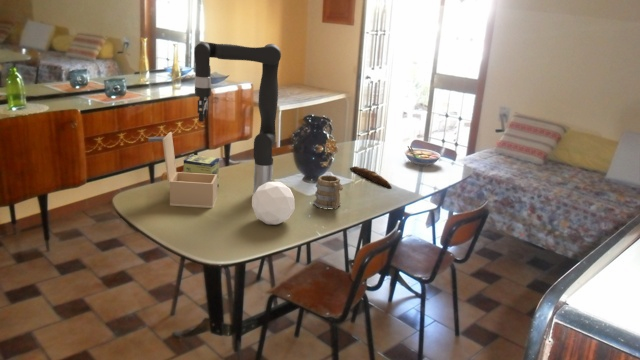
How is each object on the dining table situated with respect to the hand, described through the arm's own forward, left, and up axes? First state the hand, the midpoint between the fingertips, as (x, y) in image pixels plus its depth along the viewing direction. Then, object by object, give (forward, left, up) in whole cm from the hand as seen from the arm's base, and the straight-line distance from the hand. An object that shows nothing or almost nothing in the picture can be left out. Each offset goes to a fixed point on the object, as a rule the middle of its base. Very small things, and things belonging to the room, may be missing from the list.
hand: (202, 119), depth 269 cm
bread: (-89, -40, -39) cm, 105 cm away
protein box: (+2, -8, -38) cm, 39 cm away
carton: (+2, +11, -38) cm, 40 cm away
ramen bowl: (-126, -75, -38) cm, 152 cm away
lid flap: (+13, +11, -16) cm, 24 cm away
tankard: (-64, +9, -38) cm, 75 cm away
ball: (-37, +31, -38) cm, 62 cm away
